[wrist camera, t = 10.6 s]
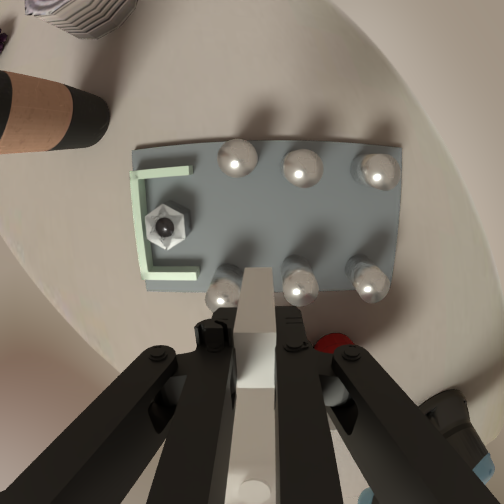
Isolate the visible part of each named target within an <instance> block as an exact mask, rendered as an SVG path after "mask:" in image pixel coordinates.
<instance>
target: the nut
mask: <svg viewBox="0 0 504 504" xmlns="http://www.w3.org/2000/svg"><path fill="white" fill-rule="evenodd" d="M145 224H146V233H147V240H149V241H151V242H153V243H154V244H156V245H158V246H160V247H162V248H163V249H165V250H169V249H170V248H172V247H173V246H175V245H176V244H178V243H179V242H181V241H183V240H184V239H186V238H187V236H188V235H189V234H190V233H191V232H192V229H191V214H190V210H189V209H187V208H186V207H184V206H182V205H180V204H178V203H176V202H174V201H172V200H169V201H167V202H165V203H163V204H162V205H160V206H159V207H157V208H156V209H155V210H153V211H152V212H150V213H149V214H148V215H146V216H145Z"/></svg>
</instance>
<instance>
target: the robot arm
mask: <svg viewBox="0 0 504 504" xmlns="http://www.w3.org/2000/svg"><path fill="white" fill-rule="evenodd" d="M194 329H195V336H196V343H197V348H196V350H195V351H193V352H189V353H184V354H177V355H176V353H175V350H174V349H173V348H171V347H169V346H164V345H158V346H153V347H150V348H148V349H146V350H145V351H143V352H142V353H141V354H140V355H139V356H138V357H137V358H136V359H135V360H134V361H133V362H132V363H131V364H130V365H129V366H128V367H127V368H126V369H125V370H124V371H123V372H122V373H121V374H120V375H119V376H118V377H117V378H116V379H115V380H114V381H113V382H112V383H111V384H110V385H109V386H108V387H107V388H106V389H105V390H104V391H103V392H102V393H101V394H100V395H99V396H98V397H97V398H96V399H95V400H94V401H93V402H92V403H91V404H90V405H89V406H88V407H87V408H86V409H85V410H84V411H83V412H82V413H81V414H80V415H79V416H78V417H77V418H76V419H75V420H74V421H73V422H72V423H71V424H70V425H69V426H68V427H67V428H66V429H65V430H64V431H63V432H62V433H61V434H60V435H59V436H58V437H57V438H56V439H55V440H54V441H53V442H52V443H51V444H50V445H49V446H48V447H47V448H46V449H45V450H44V451H43V452H42V453H41V454H40V455H39V456H38V457H37V458H36V459H35V460H34V461H33V462H32V463H31V464H30V466H28V467H27V468H26V469H25V470H24V471H23V472H22V473H21V474H20V475H19V476H18V478H16V480H15V481H14V482H13V483H12V484H11V485H10V486H9V487H8V488H7V489H6V490H4V491H2V492H0V504H120V503H121V502H122V500H123V499H124V498H125V496H126V495H127V493H128V492H129V491H130V489H131V488H132V486H133V485H134V484H135V482H136V481H137V480H138V478H139V477H140V475H141V474H142V472H143V471H144V469H145V468H146V467H147V465H148V464H149V462H150V461H151V459H152V458H153V456H154V455H155V454H156V452H157V451H158V449H159V448H160V446H161V445H162V443H163V442H164V440H165V439H166V441H165V444H164V447H163V451H162V454H161V457H160V460H159V463H158V466H157V470H156V473H155V476H154V479H153V483H152V486H151V489H150V492H149V496H148V499H147V502H146V504H225V495H226V487H227V478H228V469H229V460H230V452H231V443H232V434H233V425H234V417H235V408H236V399H237V394H236V384H237V388H275V390H274V410H275V472H276V504H343V498H342V492H341V486H340V480H339V474H338V469H337V463H336V458H335V452H334V447H333V442H332V437H331V432H330V427H329V422H328V417H327V413H328V415H329V417H330V418H331V420H332V422H333V424H334V425H335V427H336V429H337V431H338V433H339V434H340V436H341V438H342V440H343V441H344V443H345V445H346V447H347V448H348V450H349V452H350V453H351V455H352V457H353V459H354V460H355V462H356V464H357V466H358V467H359V469H360V471H361V473H362V474H363V476H364V478H365V479H366V481H367V483H368V485H369V486H370V487H369V488H366V489H365V490H364V491H363V492H362V493H361V494H360V496H359V499H358V504H500V503H499V502H498V500H497V499H496V498H495V497H494V495H493V494H492V493H491V492H490V491H489V489H488V488H487V487H486V486H485V484H486V483H487V482H488V481H489V480H490V478H491V477H492V476H493V474H494V470H495V467H494V464H493V462H492V460H491V458H490V453H488V451H487V449H486V448H485V446H484V444H483V442H482V441H481V439H480V437H479V436H478V434H477V432H476V430H475V429H474V427H473V426H472V424H471V422H470V417H469V412H468V407H467V401H466V399H465V397H464V396H463V394H462V393H461V391H459V390H448V391H445V392H442V393H440V394H438V395H436V396H434V397H432V398H431V399H429V400H427V401H426V402H425V403H423V404H422V405H421V406H420V407H417V406H416V404H415V403H414V402H413V401H412V400H411V399H410V398H409V397H408V395H407V394H406V393H405V392H404V391H403V390H402V389H401V388H400V387H399V385H398V384H397V383H396V382H395V381H394V380H393V379H392V378H391V376H390V375H389V374H388V373H387V372H386V371H385V370H384V369H383V368H382V367H381V365H380V364H379V363H378V362H377V361H376V360H375V359H374V358H373V357H372V355H371V354H370V353H369V352H368V351H367V350H366V349H364V348H363V347H360V346H358V345H352V344H347V345H342V346H339V347H337V348H336V349H335V350H334V353H333V354H331V353H325V352H320V351H317V350H315V349H314V348H312V345H311V343H310V342H309V341H307V337H306V332H305V328H304V323H303V319H302V315H301V311H300V310H299V309H298V308H297V307H296V306H275V303H274V289H273V274H272V267H253V268H245V269H244V275H243V280H242V286H241V291H240V297H239V303H238V307H219V308H218V309H217V310H216V311H215V312H213V316H212V319H207V320H204V321H201V322H199V323H198V324H197V325H196V326H195V327H194ZM326 411H327V412H326ZM166 437H167V438H166Z"/></svg>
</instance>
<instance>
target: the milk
mask: <svg viewBox="0 0 504 504" xmlns="http://www.w3.org/2000/svg"><path fill="white" fill-rule="evenodd" d="M274 390H275V388H237V384H236V394H237V399H236V408H235V417H234V425H233V434H232V443H231V452H230V460H229V469H228V478H227V487H226V495H225V504H276V472H275V410H274Z"/></svg>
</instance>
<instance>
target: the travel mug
mask: <svg viewBox="0 0 504 504" xmlns="http://www.w3.org/2000/svg"><path fill="white" fill-rule="evenodd" d="M109 117H110V116H109V109H108V106H107V104H106V103H105V101H104V100H103V99H101V98H100V97H98V96H95V95H93V94H90V93H88V92H85V91H82V90H79V89H76V88H73V87H71V86H68V85H65V84H61V83H58V82H54V81H50V80H45V79H41V78H37V77H32V76H28V75H23V74H18V73H12V72H7V71H1V70H0V154H9V153H23V152H40V151H52V150H63V149H75V148H86V147H90V146H92V145H94V144H96V143H97V142H98V141H99V140H100V139H101V138H102V137H103V135H104V134H105V132H106V130H107V127H108V124H109Z"/></svg>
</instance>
